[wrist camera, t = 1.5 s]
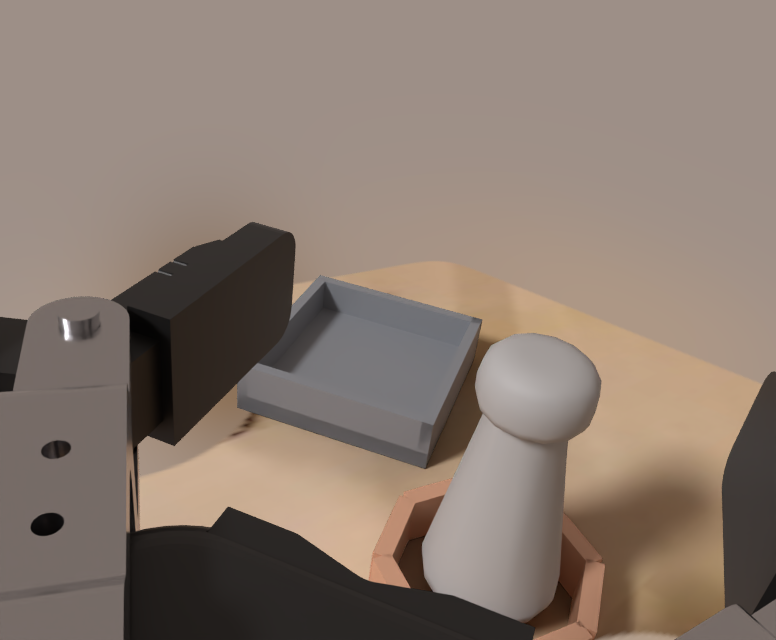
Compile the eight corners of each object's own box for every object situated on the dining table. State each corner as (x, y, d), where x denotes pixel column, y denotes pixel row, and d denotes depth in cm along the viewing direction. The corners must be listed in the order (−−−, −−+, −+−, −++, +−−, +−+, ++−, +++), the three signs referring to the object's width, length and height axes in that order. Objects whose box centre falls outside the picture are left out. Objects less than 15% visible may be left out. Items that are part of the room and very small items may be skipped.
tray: (474, 358, 48) (482, 319, 46) (425, 468, 39) (433, 425, 37) (317, 313, 50) (320, 275, 49) (237, 407, 41) (237, 364, 40)
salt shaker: (573, 627, 32) (668, 389, 25) (460, 679, 29) (531, 430, 22) (495, 528, 36) (558, 300, 29) (391, 566, 33) (432, 326, 26)
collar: (596, 553, 35) (610, 517, 34) (571, 737, 28) (588, 699, 26) (411, 491, 37) (418, 455, 36) (342, 646, 30) (346, 607, 28)
